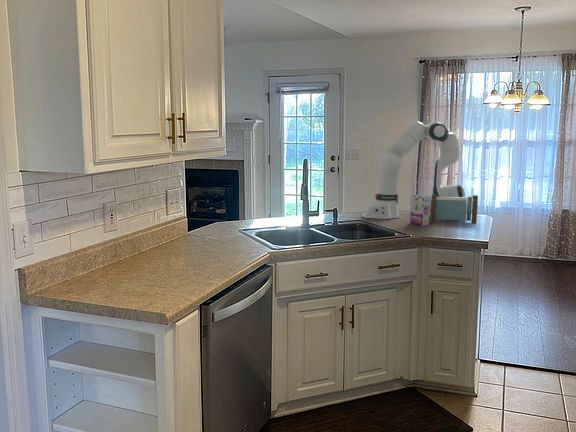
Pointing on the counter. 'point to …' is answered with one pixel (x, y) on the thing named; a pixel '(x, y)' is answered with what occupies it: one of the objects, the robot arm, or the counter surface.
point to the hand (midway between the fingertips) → (446, 211)
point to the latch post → (433, 209)
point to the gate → (452, 208)
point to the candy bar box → (420, 210)
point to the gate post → (474, 209)
